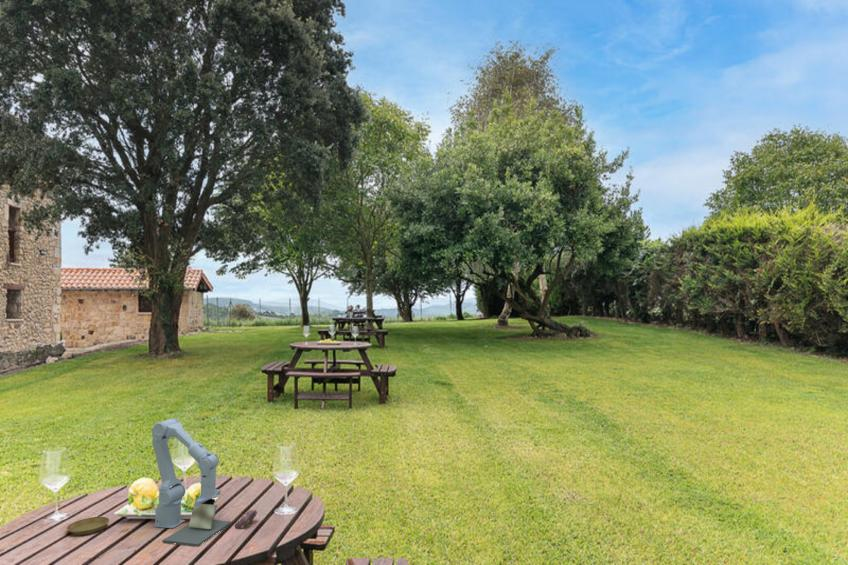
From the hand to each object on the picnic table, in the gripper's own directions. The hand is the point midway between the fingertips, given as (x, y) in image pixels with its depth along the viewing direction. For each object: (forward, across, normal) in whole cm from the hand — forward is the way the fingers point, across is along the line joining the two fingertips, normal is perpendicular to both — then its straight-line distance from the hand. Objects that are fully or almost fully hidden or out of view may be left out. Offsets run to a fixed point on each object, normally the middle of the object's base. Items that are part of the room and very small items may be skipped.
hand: (207, 517), depth 210 cm
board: (+4, -5, 0) cm, 7 cm away
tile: (-2, -2, 0) cm, 3 cm away
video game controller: (+5, +6, -14) cm, 16 cm away
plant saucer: (+4, -12, +47) cm, 49 cm away
